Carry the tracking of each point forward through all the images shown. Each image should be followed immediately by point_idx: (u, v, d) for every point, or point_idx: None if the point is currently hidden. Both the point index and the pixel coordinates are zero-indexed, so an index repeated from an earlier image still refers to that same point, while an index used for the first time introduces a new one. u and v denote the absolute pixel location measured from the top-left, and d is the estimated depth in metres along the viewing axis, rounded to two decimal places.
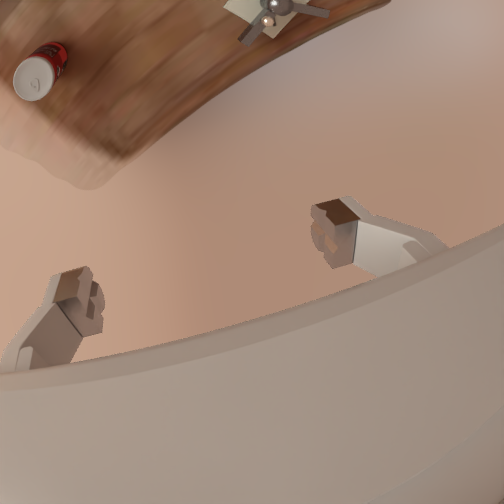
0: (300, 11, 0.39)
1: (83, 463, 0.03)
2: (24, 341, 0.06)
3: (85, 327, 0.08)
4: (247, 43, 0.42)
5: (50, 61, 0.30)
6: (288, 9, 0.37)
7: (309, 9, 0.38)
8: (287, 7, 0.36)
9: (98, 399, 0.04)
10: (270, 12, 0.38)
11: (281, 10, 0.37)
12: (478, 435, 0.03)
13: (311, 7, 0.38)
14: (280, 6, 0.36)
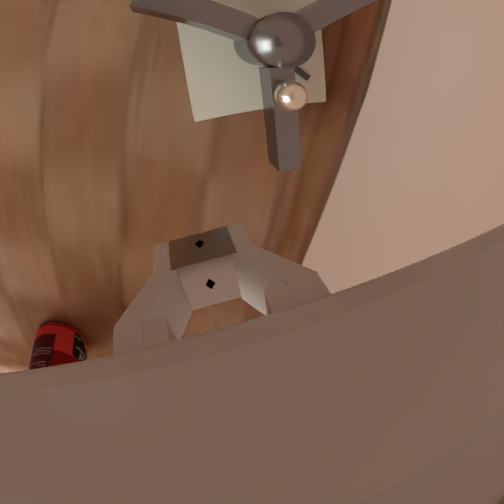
0: (328, 21, 0.15)
1: (83, 463, 0.03)
2: (147, 312, 0.07)
3: (199, 298, 0.09)
4: (293, 163, 0.22)
5: None
6: (305, 36, 0.15)
7: (338, 4, 0.15)
8: (297, 34, 0.15)
9: (98, 399, 0.04)
10: (278, 70, 0.17)
11: (294, 50, 0.15)
12: (478, 435, 0.03)
13: None
14: (282, 44, 0.15)
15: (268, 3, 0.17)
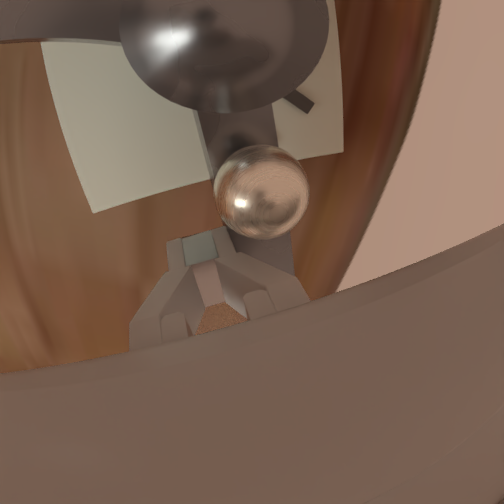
0: None
1: (83, 463, 0.03)
2: (163, 308, 0.07)
3: (213, 294, 0.09)
4: None
5: None
6: (292, 2, 0.04)
7: None
8: None
9: (98, 399, 0.04)
10: (223, 113, 0.06)
11: (259, 51, 0.05)
12: (478, 435, 0.03)
13: None
14: (214, 33, 0.04)
15: None
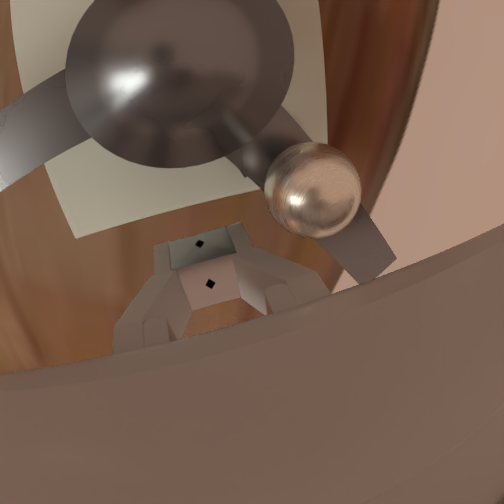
0: None
1: (83, 463, 0.03)
2: (147, 312, 0.07)
3: (199, 298, 0.09)
4: (382, 263, 0.11)
5: None
6: (227, 6, 0.04)
7: None
8: (198, 17, 0.04)
9: (98, 399, 0.04)
10: None
11: (232, 74, 0.04)
12: (478, 435, 0.03)
13: None
14: (179, 85, 0.04)
15: None
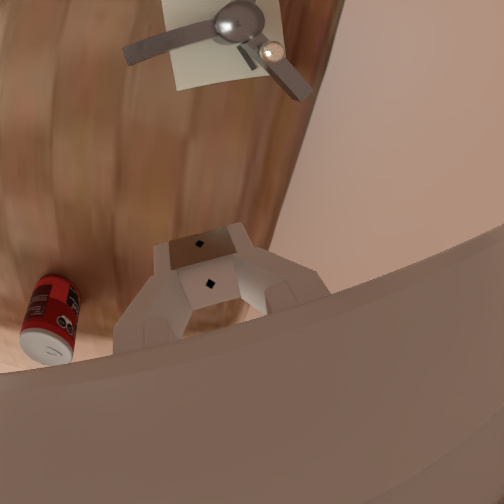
0: None
1: (83, 463, 0.03)
2: (147, 312, 0.07)
3: (199, 298, 0.09)
4: (307, 91, 0.25)
5: (42, 327, 0.28)
6: (251, 10, 0.18)
7: None
8: (245, 12, 0.18)
9: (98, 399, 0.04)
10: (252, 40, 0.21)
11: (252, 24, 0.19)
12: (478, 435, 0.03)
13: None
14: (241, 25, 0.19)
15: None
